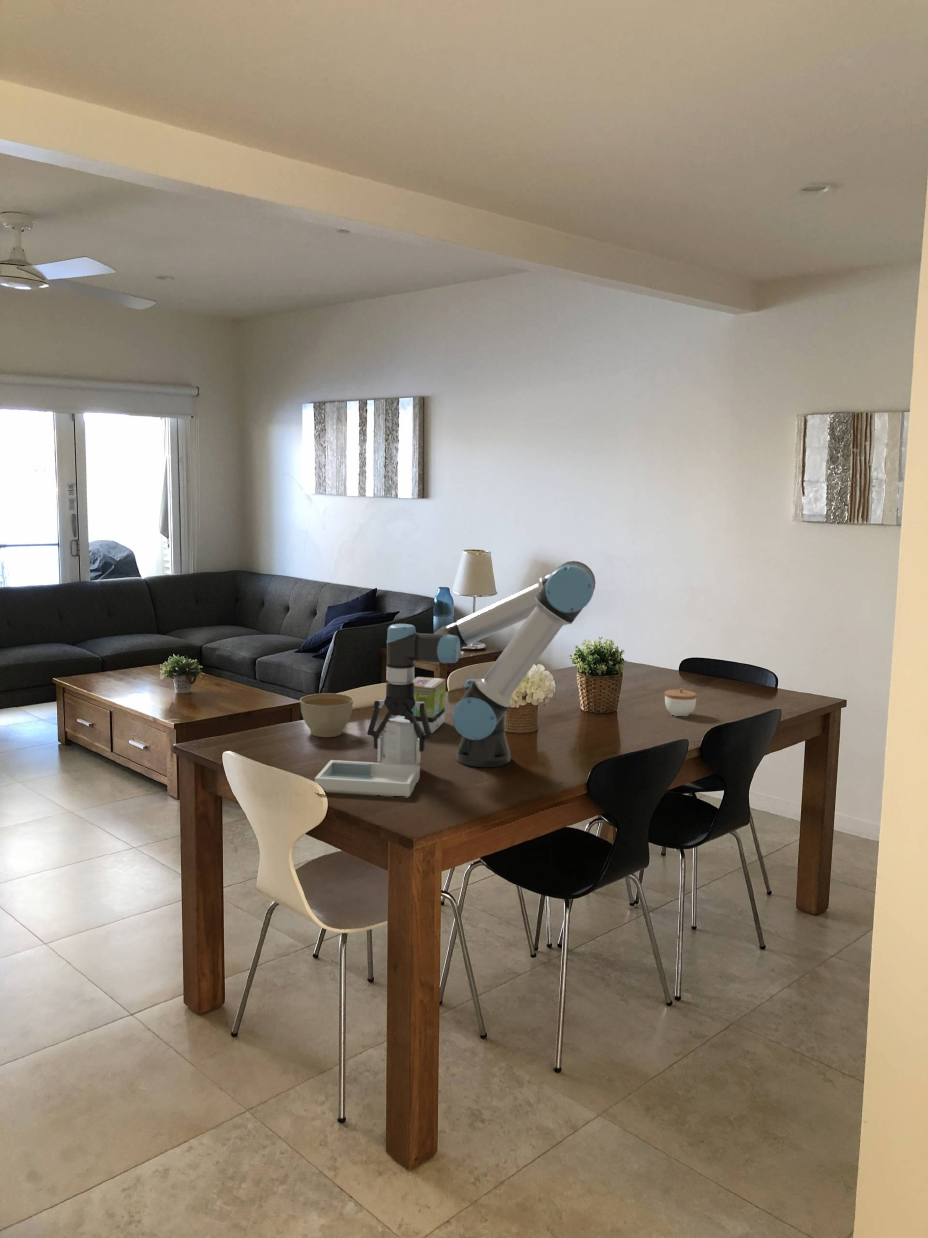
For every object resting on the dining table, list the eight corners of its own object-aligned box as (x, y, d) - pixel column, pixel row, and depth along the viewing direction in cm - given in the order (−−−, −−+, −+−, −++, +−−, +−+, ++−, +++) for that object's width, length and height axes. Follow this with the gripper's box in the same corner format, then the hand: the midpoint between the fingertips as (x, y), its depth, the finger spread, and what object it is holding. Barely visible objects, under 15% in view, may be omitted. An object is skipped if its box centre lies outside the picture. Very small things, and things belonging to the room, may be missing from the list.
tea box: (434, 733, 305) (435, 687, 302) (403, 731, 306) (403, 684, 304) (445, 722, 319) (446, 677, 317) (415, 720, 321) (415, 675, 319)
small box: (417, 769, 268) (418, 722, 266) (399, 773, 264) (400, 726, 262) (398, 762, 274) (399, 716, 272) (380, 766, 269) (381, 720, 267)
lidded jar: (701, 717, 334) (703, 690, 333) (675, 719, 330) (676, 692, 329) (683, 710, 344) (685, 684, 342) (657, 712, 340) (659, 685, 339)
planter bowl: (289, 732, 301) (289, 698, 300) (331, 724, 312) (332, 691, 311) (320, 744, 290) (320, 708, 288) (363, 734, 301) (364, 700, 300)
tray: (419, 778, 260) (419, 765, 259) (409, 797, 244) (409, 784, 244) (330, 772, 263) (330, 760, 262) (314, 791, 247) (314, 778, 246)
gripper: (443, 680, 267) (441, 760, 271) (362, 676, 270) (361, 755, 273) (439, 686, 260) (437, 768, 263) (356, 682, 263) (355, 763, 266)
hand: (398, 761), depth 268 cm, fingers closed on small box, 10 cm apart
